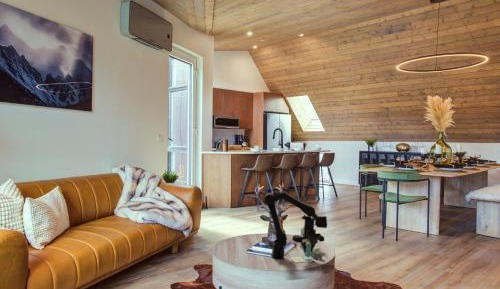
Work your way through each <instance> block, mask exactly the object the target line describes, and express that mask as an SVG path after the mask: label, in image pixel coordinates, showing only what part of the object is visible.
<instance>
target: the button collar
mask: <svg viewBox="0 0 500 289" xmlns="http://www.w3.org/2000/svg"><path fill="white" fill-rule="evenodd" d="M313 253H314V251H313V252H311V256H310V257H311V258H312V259H313V260H319V259H318V258H322V259H323V254H321V252H319V255H314V254H313Z"/></svg>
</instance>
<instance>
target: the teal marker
mask: <svg viewBox="0 0 500 289" xmlns="http://www.w3.org/2000/svg"><path fill="white" fill-rule="evenodd" d="M304 257H311V244H310V242H306V252H305V253H304Z"/></svg>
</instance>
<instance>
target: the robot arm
mask: <svg viewBox="0 0 500 289" xmlns="http://www.w3.org/2000/svg"><path fill="white" fill-rule="evenodd" d="M280 200H285V201H286V202H288V203H289V204H291V205H293V206H295V207H297V208H298V209H299V210H300V211H302V212H303V213H304V215H303V216H301V220H304V226H303V227H302V228H303V229H304V234H303V236H304V237H301V235H299V234H297V235H296V234H295V235H293V236H292V241H294V242H295V243H299V244H300V243H301V245H302V248H303V249H302V248H301V249H302V250H303V253H304V254H305V252H306V242H305V241H306V240H309V241H310V244H311V252H312V251H314V249H313V247H314V245H315V246H316V244H318V243H319V242H325V236H323V235H322V234H321V233H319V232H318V233H316V234H315V229H316V228H321V229H327V227H328V221H327V220H328V219H327V216H326V215H324V216H321V215H318V214H317V213H316V210H315V207H314V206H313V205H311V204H308V203H304V202H302V201H301V200H299V199H297V198H295V197H294V196H292V195H290V193H289V194H288V193H287V192H286V191H284V190H283V191H280V192H274V193H271V192H268V193H266V194H265V196H264V202H265V203H266V206H267V208H268V209H269V212H270V216H271V219H272V222H273V226H274V229H275V233H276V234H275V236H276V239H274V241H273V242H272V244H273V246H272V248H271V249H272V250H271V255H270V257H271V258H272V259H273V260H282V259H284V260H285V247H284V246H286V245H287V241H288V236H287V234H286V230H284V231H283V229H282V225H281V221H280V219H279V215H278V211H277V208H276V202H277V201H280ZM315 226H316V228H315Z"/></svg>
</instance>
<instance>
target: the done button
mask: <svg viewBox="0 0 500 289" xmlns="http://www.w3.org/2000/svg"><path fill="white" fill-rule="evenodd" d="M320 249H321V248H320V247H318V246H317V247H316V246H315V247H314V249H313V252H314V253H313V254H314V255H319V253H321V252H320Z"/></svg>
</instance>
